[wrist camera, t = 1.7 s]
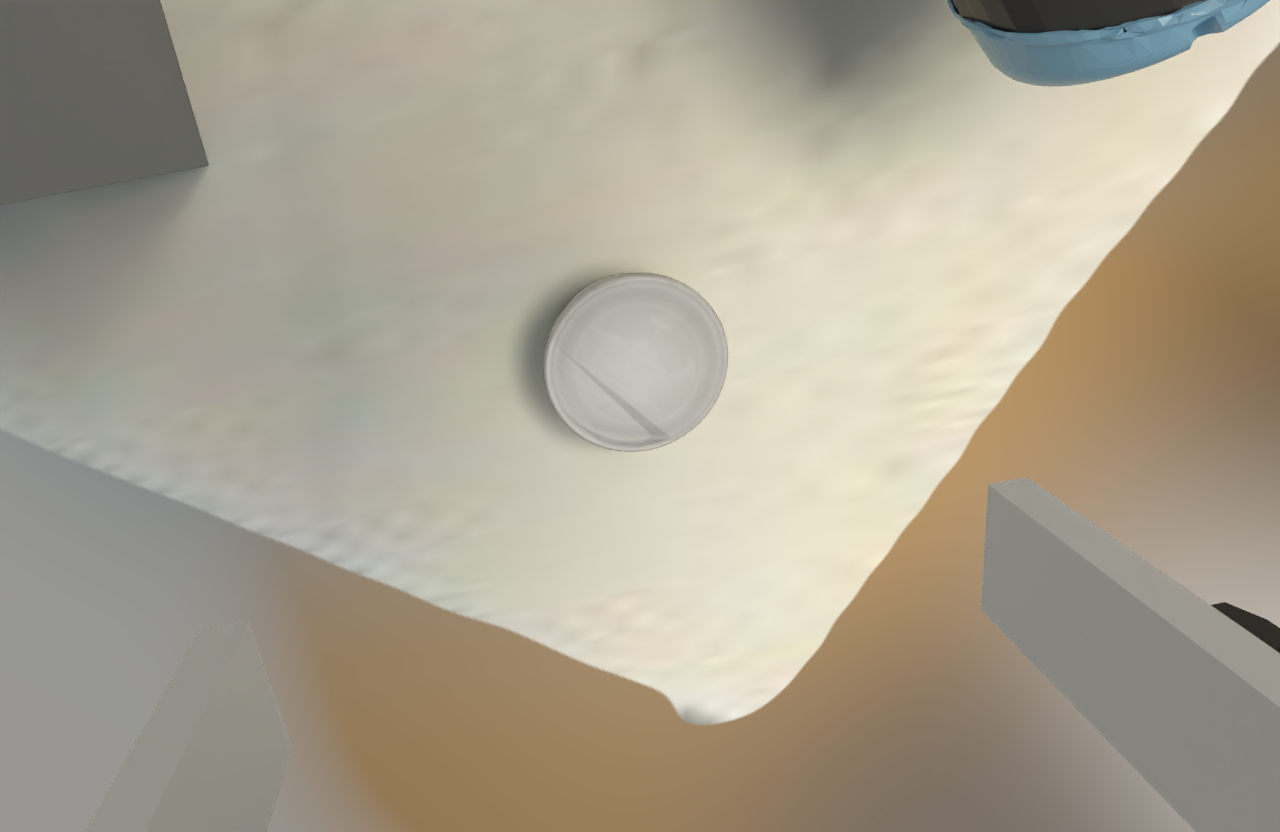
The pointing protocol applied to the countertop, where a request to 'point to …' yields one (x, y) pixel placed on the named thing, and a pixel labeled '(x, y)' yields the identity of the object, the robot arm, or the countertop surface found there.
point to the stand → (89, 97)
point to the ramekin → (635, 361)
